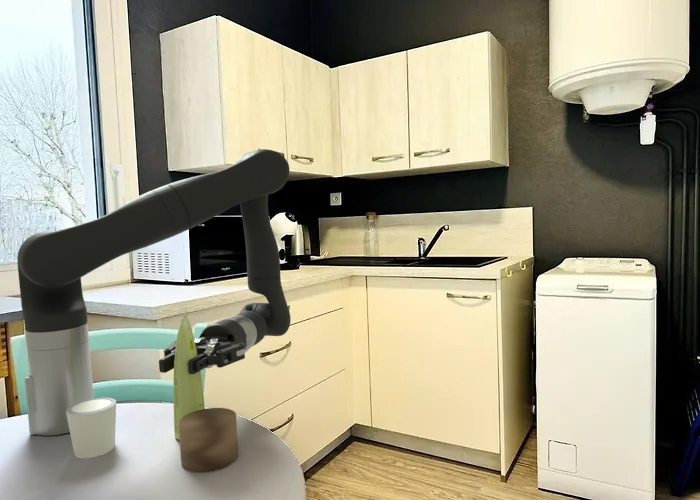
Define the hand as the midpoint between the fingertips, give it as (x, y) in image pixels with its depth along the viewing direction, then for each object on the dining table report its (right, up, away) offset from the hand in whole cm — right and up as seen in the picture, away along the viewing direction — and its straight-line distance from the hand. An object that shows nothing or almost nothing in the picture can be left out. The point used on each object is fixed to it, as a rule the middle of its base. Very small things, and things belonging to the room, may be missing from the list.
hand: (176, 367), depth 78 cm
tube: (+1, -12, +4) cm, 12 cm away
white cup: (-12, -13, 0) cm, 18 cm away
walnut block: (+6, -12, -4) cm, 14 cm away
